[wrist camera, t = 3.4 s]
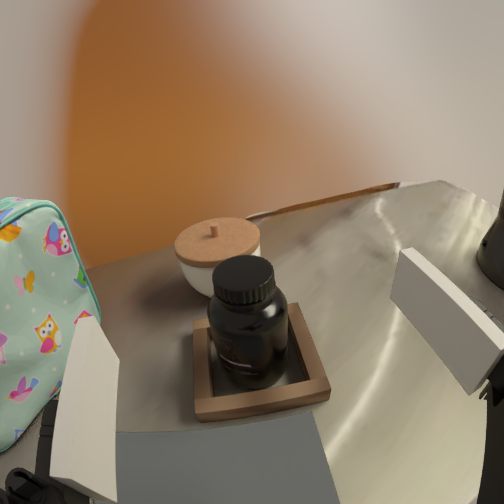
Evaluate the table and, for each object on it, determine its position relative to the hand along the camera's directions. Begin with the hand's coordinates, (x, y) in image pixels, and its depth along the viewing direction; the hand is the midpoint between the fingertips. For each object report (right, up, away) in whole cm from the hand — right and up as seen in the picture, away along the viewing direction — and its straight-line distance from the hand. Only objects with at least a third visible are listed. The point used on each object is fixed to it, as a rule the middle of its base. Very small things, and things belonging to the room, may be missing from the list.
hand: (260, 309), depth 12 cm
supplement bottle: (0, -9, +18) cm, 20 cm away
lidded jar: (-4, -2, +29) cm, 30 cm away
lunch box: (-27, -14, +16) cm, 34 cm away
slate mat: (-4, -17, +5) cm, 19 cm away
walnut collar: (0, -9, +17) cm, 20 cm away
